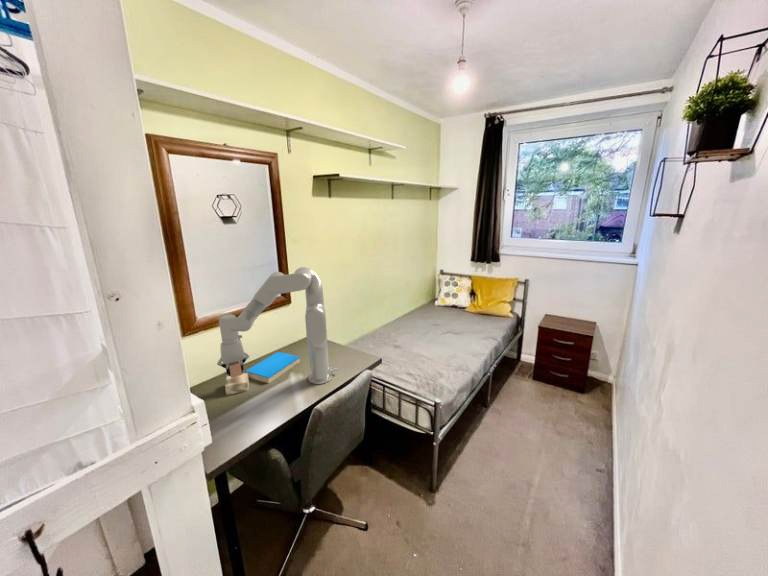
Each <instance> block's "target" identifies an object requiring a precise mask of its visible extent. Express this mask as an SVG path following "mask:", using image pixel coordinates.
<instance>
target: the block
mask: <svg viewBox="0 0 768 576" xmlns="http://www.w3.org/2000/svg"><path fill="white" fill-rule="evenodd" d="M229 369H230V375H231V378H232V377H236V376H240V375H242V371H241V364H240V361H236V362H232V363H229Z"/></svg>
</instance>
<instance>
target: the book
mask: <svg viewBox="0 0 768 576" xmlns="http://www.w3.org/2000/svg"><path fill="white" fill-rule="evenodd" d="M300 360H301V359H300V355H299V356H298V355H294V354H290V353H286V352H281V351H277V352H275V353H274V354H272V355H270V356H269V357H267V358H265V359H263V360H261V361H260V362H258V363H256V364H254V365H253V366H252V367H250V368H248V369H246V370H245V372H244V373H248V379H252V380H256V381H259V382H263V383H266V384H270V383H272V382H273V381H275V380H276V379H277V378H279V377H280V376H281V375H283V374H285V373H286V372H287V371H289V370H291V369H292V368H294V366H296V365H298V364H299V363H301V361H300Z"/></svg>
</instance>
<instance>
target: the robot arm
mask: <svg viewBox="0 0 768 576" xmlns="http://www.w3.org/2000/svg"><path fill="white" fill-rule="evenodd" d="M323 289H324V288H323V284H322V281H321V279H320V277H319V275H318V274H317V273H316V272H315V271H314V270H312V269H310V268H308V267H306V266H302V267H299V268H297V269H296V270H295V271H294V272H293V273H290V274H284V273H283V272H281V271H275V272H273V273H271V274H270V275H269V276H268V278H267V279H265V281H264V283H263V284H262V285H261V286H260V288H259V289H258V290H257V292H255V294H254V295H253V298H252V299H251V300H250V301H249V303H247V305H246V307H245V308H244V309H243V310H242V311H241V313H240V314H239V315H238V316H236V315H235V314H230V313H229V314H223V315H222V316H221V315H220V317H219V319H218V323H219V331H220V335H221V342H220V348H219V349H220V358H219V360H218V361H217V363H216V365H217V366H220V367H222V368H223V369H225V371H226V375H227V376H231V375H230V369H229V363H232V362H236V361H239V362H240V364H241V371H242V373H244V372H243V371H244V364H245V363H246V362H247V360H248V359H249V358H250V355H249V354H248V353H247V352H245V350H244V346H243V343H242V340H241V339H242V338H243V335H242V334H241V335H240V334H239V332H240V333H241V332H248V331H250V330H251V328H252V326H253V325H254V323H255V321H256V320H257V318H258V317H259V316H260V315H261V313H262V312H263V311H264V310H265V309H266V308H267V307H270V306H271V305H272V303H273V302H274V301H275V299H276V298H277V297H278V296H279V295H280V294H287V293H294V292H295V293H296V292H301V291H305V302H306V304H305V305H306V309H305V315H304V317H305V318H304V319H305V320H304V321H305V332H306V333H305V334H306V335H305V336H306V342H307V343H308V352H309V355H308V356H309V365H310V366H309V367H310V374H308V376H307V379H308V382H309V383H311V384H314V385H322V384H325V383H328V382H330V381H331V380H332V378H333V373H334V372H338V369H339V368H338V366H337V367H334V366H330V365H329V364H330V363H329V352H328V351H329V349H328V348H329V347H328V333H327V332H328V329H327V318H326V316H327V315H326V308H325V301H324V300H325V299H324V290H323Z"/></svg>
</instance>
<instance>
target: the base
mask: <svg viewBox="0 0 768 576" xmlns="http://www.w3.org/2000/svg"><path fill="white" fill-rule="evenodd" d="M225 378H226V379H225V384H224V387H225V393H226V396H228V395H233V394H238V393H242V392H243V393H244V392H248V391H249V387H250V386H249V385H250V383H249V382H250V378H249V377H248V373H245V372H243V373H242V375H240V376H236V377H232V378H231V376H229V375H226V377H225Z"/></svg>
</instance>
